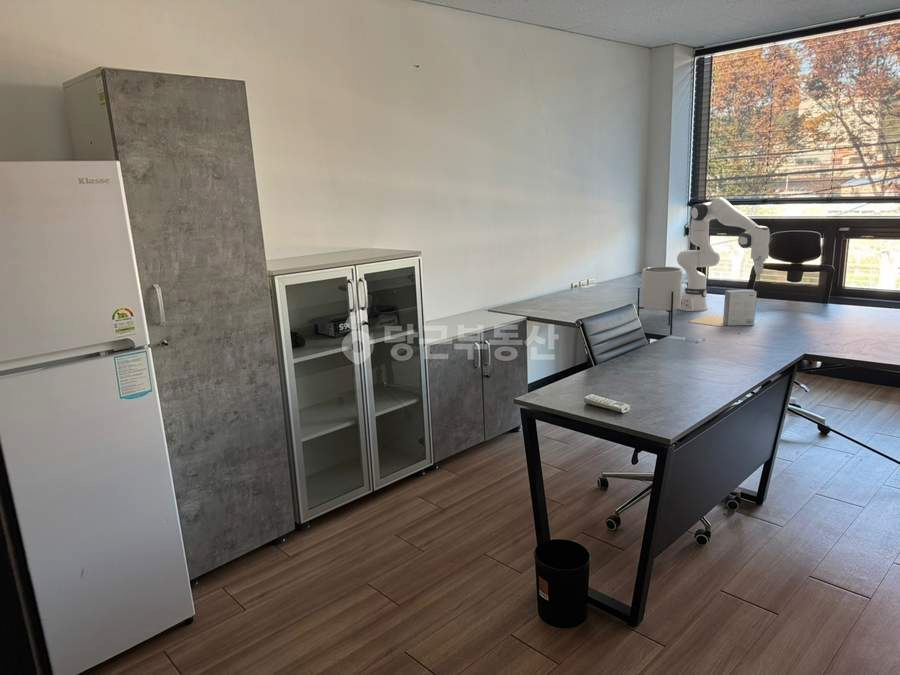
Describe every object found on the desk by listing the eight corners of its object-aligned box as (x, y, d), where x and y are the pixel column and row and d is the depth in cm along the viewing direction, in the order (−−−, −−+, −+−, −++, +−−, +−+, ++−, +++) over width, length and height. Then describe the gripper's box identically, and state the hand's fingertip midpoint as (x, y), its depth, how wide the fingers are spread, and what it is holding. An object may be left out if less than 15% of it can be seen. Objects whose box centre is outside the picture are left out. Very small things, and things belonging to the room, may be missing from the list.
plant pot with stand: (680, 334, 344) (683, 272, 336) (636, 333, 352) (637, 272, 343) (679, 325, 366) (681, 266, 357) (637, 324, 374) (639, 266, 365)
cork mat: (688, 322, 372) (688, 321, 371) (706, 315, 385) (706, 315, 385) (720, 326, 357) (720, 326, 357) (738, 319, 370) (738, 319, 370)
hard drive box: (749, 322, 363) (752, 289, 357) (754, 325, 355) (757, 291, 350) (722, 322, 364) (725, 289, 359) (726, 325, 357) (729, 292, 352)
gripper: (766, 257, 332) (765, 282, 336) (765, 253, 350) (763, 277, 354) (753, 257, 335) (752, 282, 338) (752, 253, 353) (751, 276, 356)
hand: (757, 279), depth 346 cm, fingers closed
